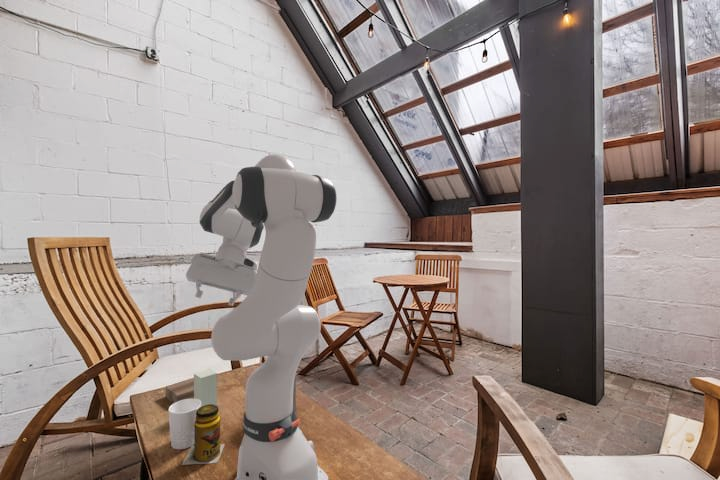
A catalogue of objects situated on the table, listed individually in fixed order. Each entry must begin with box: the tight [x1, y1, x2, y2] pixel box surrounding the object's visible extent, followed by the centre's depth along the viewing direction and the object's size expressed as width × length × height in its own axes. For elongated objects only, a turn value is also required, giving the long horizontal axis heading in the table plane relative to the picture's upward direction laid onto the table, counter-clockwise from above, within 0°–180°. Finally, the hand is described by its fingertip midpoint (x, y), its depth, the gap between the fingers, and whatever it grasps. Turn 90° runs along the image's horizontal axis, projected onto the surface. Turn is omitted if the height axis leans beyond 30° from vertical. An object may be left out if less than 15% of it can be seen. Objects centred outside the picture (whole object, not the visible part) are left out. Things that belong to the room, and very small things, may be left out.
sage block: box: [193, 368, 218, 407], centre depth 108 cm, size 5×5×12 cm
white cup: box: [168, 399, 201, 451], centre depth 92 cm, size 8×8×10 cm
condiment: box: [181, 404, 226, 466], centre depth 87 cm, size 7×8×12 cm
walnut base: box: [165, 377, 194, 404], centre depth 118 cm, size 10×10×4 cm
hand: (214, 301), depth 101 cm, fingers open, 8 cm apart
